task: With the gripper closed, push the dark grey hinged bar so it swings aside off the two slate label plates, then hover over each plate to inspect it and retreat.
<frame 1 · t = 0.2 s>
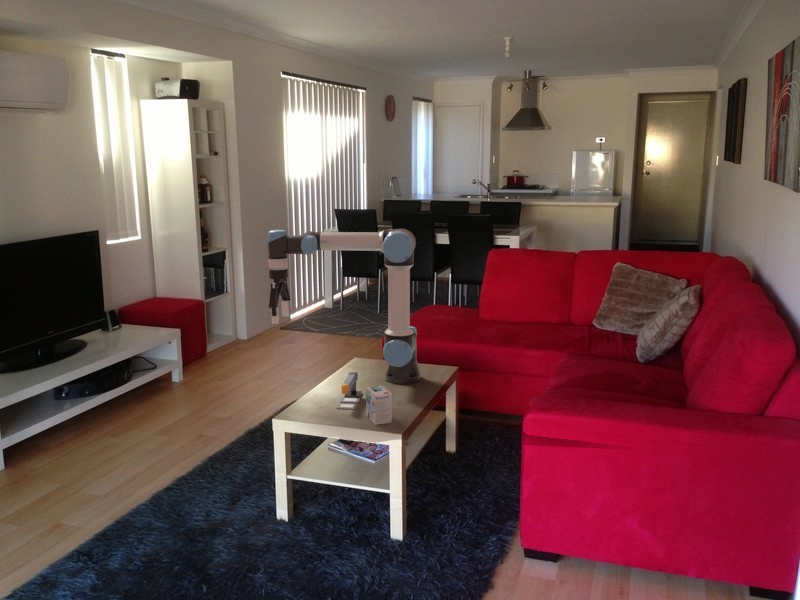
hand: (280, 319, 288), 28 cm above the table, fingers open, 13 cm apart
label a: (350, 400, 273), on the table
cable arm: (349, 382, 270), point 8 cm above the table, hinge at 0.0°
post: (353, 395, 279), on the table
label b: (347, 406, 267), on the table
light bulb box: (379, 419, 254), on the table
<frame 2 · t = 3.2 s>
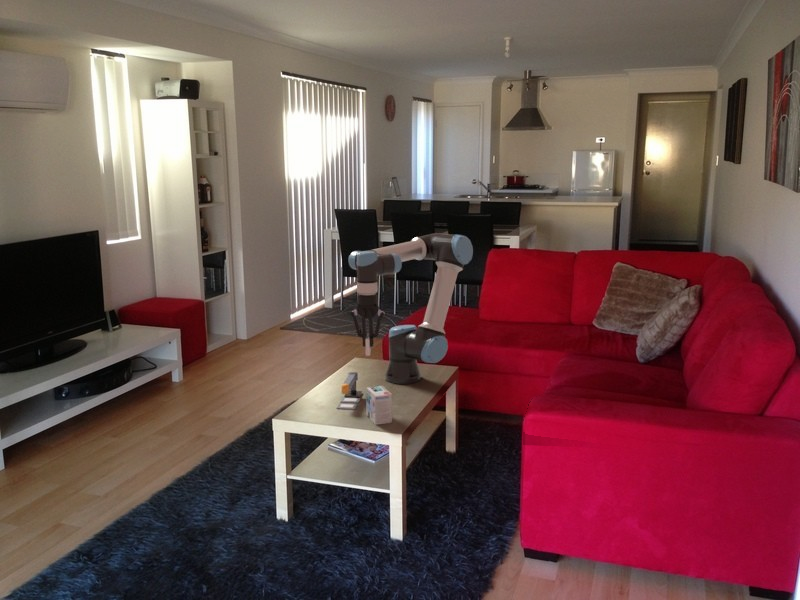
hand: (368, 354, 265), 20 cm above the table, fingers closed
nothing on the table moved.
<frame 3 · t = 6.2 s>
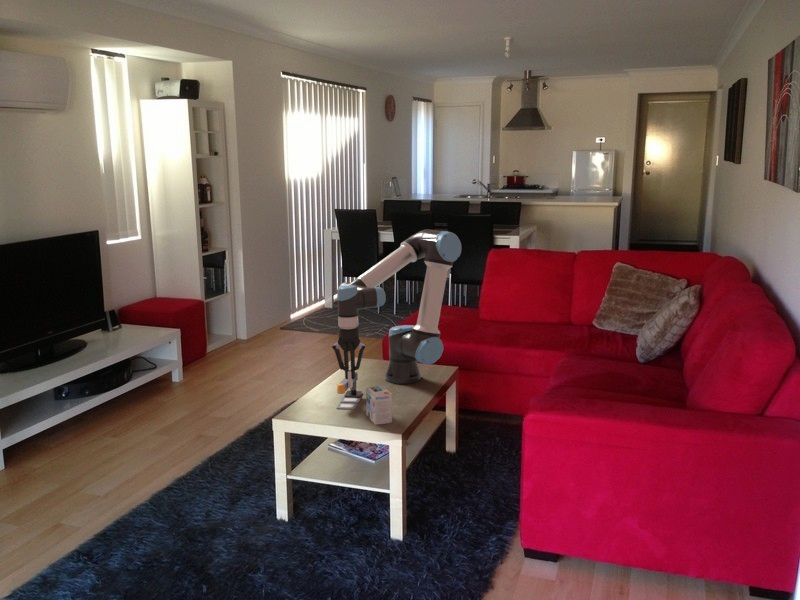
hand: (350, 387, 268), 7 cm above the table, fingers closed
cable arm: (347, 382, 270), point 8 cm above the table, hinge at 6.1°, touching gripper
everything else where it was.
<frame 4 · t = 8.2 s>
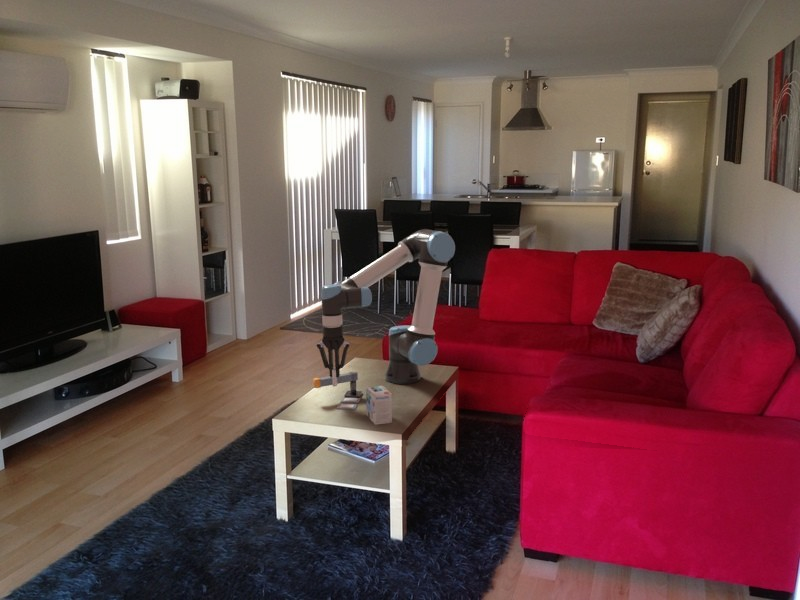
hand: (335, 385, 271), 7 cm above the table, fingers closed
cable arm: (335, 379, 274), point 8 cm above the table, hinge at 51.6°, touching gripper
everything else where it was.
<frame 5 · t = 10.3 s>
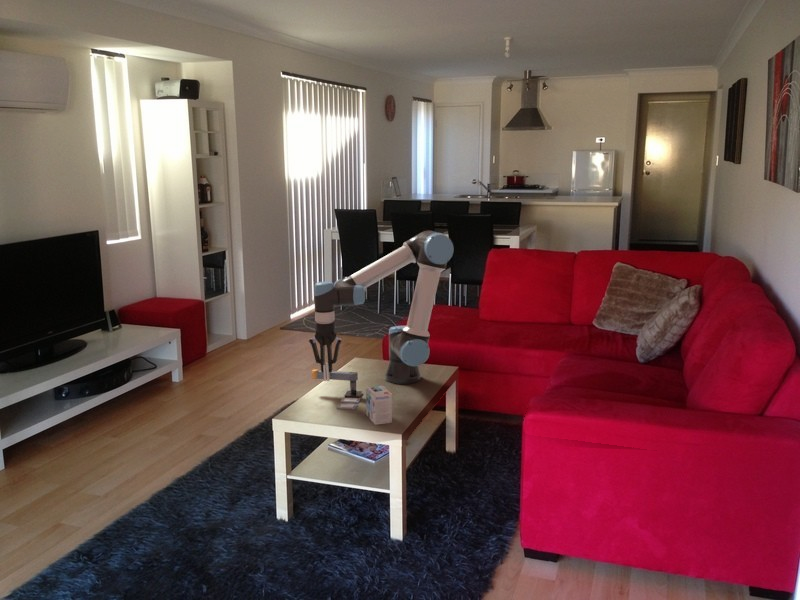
hand: (327, 380, 277), 7 cm above the table, fingers closed
cable arm: (334, 375, 279), point 8 cm above the table, hinge at 95.2°, touching gripper
everything else where it was.
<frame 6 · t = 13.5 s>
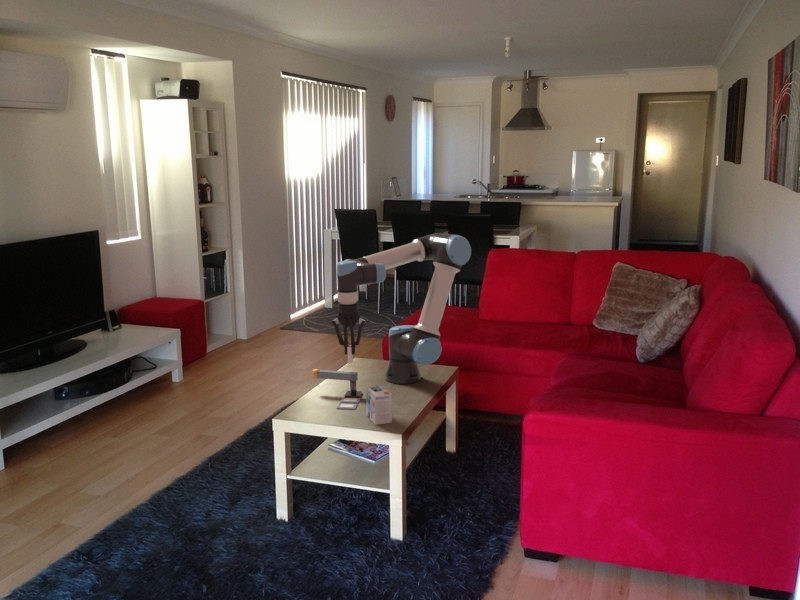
hand: (350, 362, 269), 16 cm above the table, fingers closed
cable arm: (334, 375, 280), point 8 cm above the table, hinge at 97.4°
everything else where it was.
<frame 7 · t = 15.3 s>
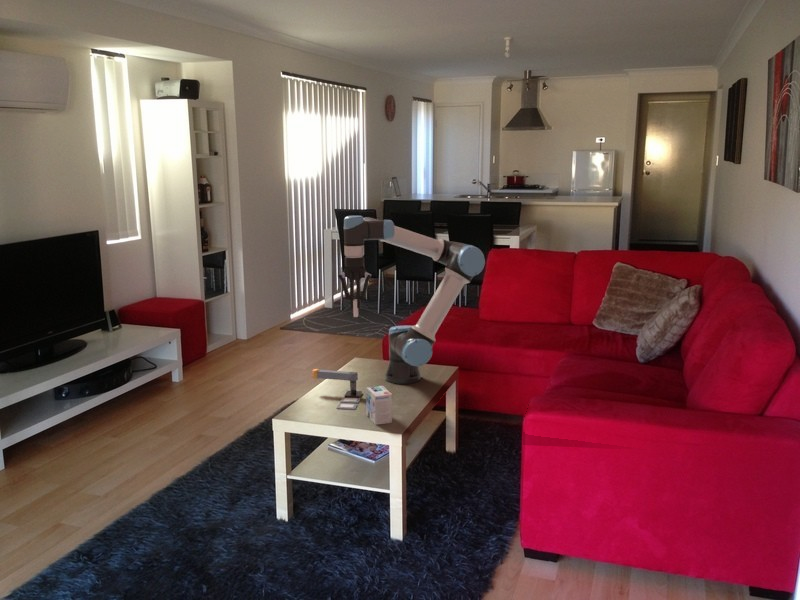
hand: (355, 316, 275), 32 cm above the table, fingers closed
nothing on the table moved.
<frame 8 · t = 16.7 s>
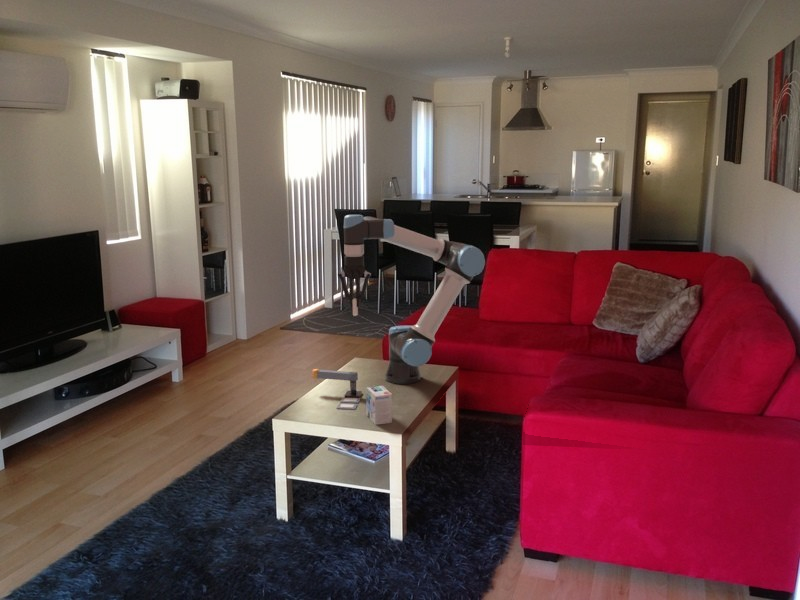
hand: (355, 315, 275), 32 cm above the table, fingers closed
nothing on the table moved.
at the end: cable arm at +97° (first picture: +0°); light bulb box moved 0.3 cm from its start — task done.
